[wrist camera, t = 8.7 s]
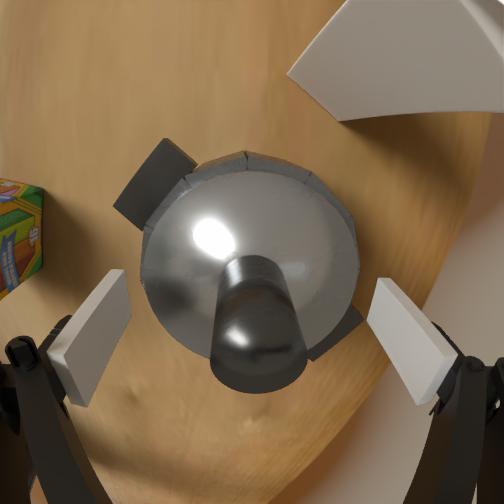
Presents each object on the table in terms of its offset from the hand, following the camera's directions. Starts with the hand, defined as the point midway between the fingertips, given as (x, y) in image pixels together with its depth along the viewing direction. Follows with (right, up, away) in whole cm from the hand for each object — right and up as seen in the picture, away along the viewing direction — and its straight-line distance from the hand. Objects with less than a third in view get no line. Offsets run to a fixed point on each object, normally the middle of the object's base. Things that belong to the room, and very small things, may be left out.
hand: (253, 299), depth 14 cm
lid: (0, +1, +3) cm, 4 cm away
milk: (+7, +17, +6) cm, 20 cm away
